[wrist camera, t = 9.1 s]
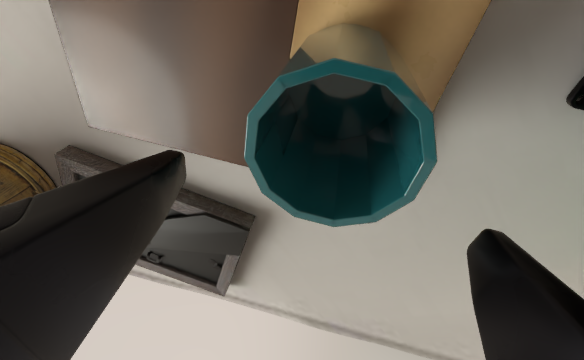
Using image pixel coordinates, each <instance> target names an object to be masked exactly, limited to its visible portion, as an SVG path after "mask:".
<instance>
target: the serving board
mask: <svg viewBox="0 0 584 360" xmlns="http://www.w3.org/2000/svg"><path fill="white" fill-rule="evenodd" d="M490 2H491V0H49V4H50V7H51V10H52V13H53V16H54V19H55V23H56V26H57V29H58V32H59V35H60V38H61V42H62V45H63V48H64V51H65V54H66V57H67V61H68V64H69V67H70V70H71V73H72V77H73V80H74V83H75V86H76V89H77V92H78V96H79V99H80V102H81V105H82V108H83V111H84V115H85V118H86V121H87V124H88V127H92V128H96V129H100V130H104V131H108V132H112V133H116V134H120V135H124V136H127V137H131V138H135V139H139V140H143V141H147V142H151V143H155V144H159V145H163V146H167V147H171V148H175V149H179V150H183V151H187V152H191V153H195V154H199V155H203V156H207V157H211V158H215V159H219V160H223V161H227V162H230V163H234V164H238V165H242V166H246V167H248V165H247V163H246V161H245V159H244V149H245V137H246V124H247V115H248V113H249V112H250V110H251V109H252V108H253V106H254V105H255V104H256V103H257V101H258V100H259V99H260V97H261V96H262V95H263V93H264V92H265V91H266V89H267V88H268V87H269V85H270V84H271V83H272V81H273V80H274V79H275V78H276V76H277V75H278V74H279V72H280V71H281V70H282V68H283V67H284V66H285V64H286V63H287V62H288V60H289V59H290V58H291V57H292V55H293V54H294V53H295V52H296V51H297V49H298V48H299V47H300V46H301V44H302V43H303V42H304V41H305V39H306V38H307V37H308V36H309V35H311V34H314V33H316V32H318V31H320V30H322V29H324V28H326V27H329V26H333V25H338V24H341V23H347V24H358V25H362V26H366V27H369V28H371V29H373V30H377V31H379V32H380V33H381V34H382V35H383V36H384V37H385V38H386V39H387V40H388V41H389V42H390V43H391V44H392V46H393V47H394V48H395V49H396V51H397V52H398V53H399V54H400V55H401V56H402V57H403V59H404V61H405V63H406V65H407V67H408V68H409V70H410V72H411V74H412V76H413V77H414V79H415V81H416V83H417V85H418V87H419V88H420V90H421V92H422V94H423V96H424V98H425V99H426V101H427V103H428V105H429V107H430V108H431V110H432V112H433V111H434V109H435V107H436V105H437V103H438V101H439V99H440V97H441V96H442V94H443V92H444V90H445V88H446V86H447V84H448V82H449V80H450V78H451V76H452V75H453V73H454V71H455V69H456V67H457V65H458V63H459V61H460V59H461V57H462V55H463V53H464V52H465V50H466V48H467V46H468V44H469V42H470V40H471V38H472V36H473V34H474V32H475V31H476V29H477V27H478V25H479V23H480V21H481V19H482V17H483V15H484V13H485V11H486V10H487V8H488V6H489V4H490Z"/></svg>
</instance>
